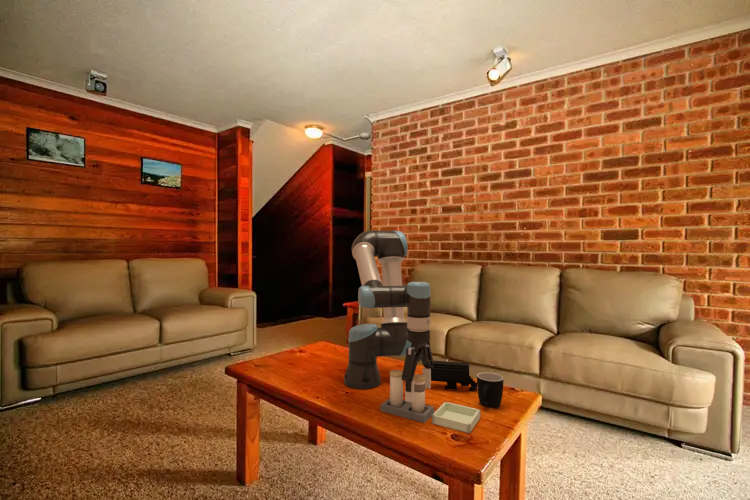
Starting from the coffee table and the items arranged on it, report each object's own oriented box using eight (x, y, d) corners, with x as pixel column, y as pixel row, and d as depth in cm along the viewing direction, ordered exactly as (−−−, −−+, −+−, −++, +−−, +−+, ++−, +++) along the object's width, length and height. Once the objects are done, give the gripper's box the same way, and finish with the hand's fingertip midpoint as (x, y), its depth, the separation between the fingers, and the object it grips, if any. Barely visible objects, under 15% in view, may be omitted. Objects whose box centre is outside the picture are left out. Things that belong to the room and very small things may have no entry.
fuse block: (380, 412, 122) (380, 373, 122) (391, 403, 129) (391, 366, 129) (424, 424, 114) (424, 382, 114) (434, 414, 121) (434, 375, 121)
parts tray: (431, 424, 113) (431, 415, 113) (444, 410, 124) (445, 401, 124) (469, 435, 107) (469, 424, 107) (480, 419, 118) (480, 409, 118)
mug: (480, 397, 135) (481, 370, 135) (506, 403, 130) (506, 375, 130) (470, 409, 124) (470, 380, 124) (497, 416, 120) (497, 385, 120)
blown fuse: (408, 415, 118) (408, 377, 118) (414, 410, 122) (414, 373, 122) (421, 419, 116) (421, 380, 116) (427, 413, 120) (427, 375, 120)
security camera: (477, 394, 138) (477, 367, 138) (428, 389, 142) (428, 364, 142) (476, 387, 145) (476, 362, 145) (429, 383, 149) (429, 359, 149)
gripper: (413, 338, 106) (412, 410, 106) (442, 324, 128) (442, 384, 128) (390, 335, 110) (390, 405, 110) (423, 322, 132) (423, 380, 131)
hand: (418, 394), depth 119 cm, fingers open, 13 cm apart
